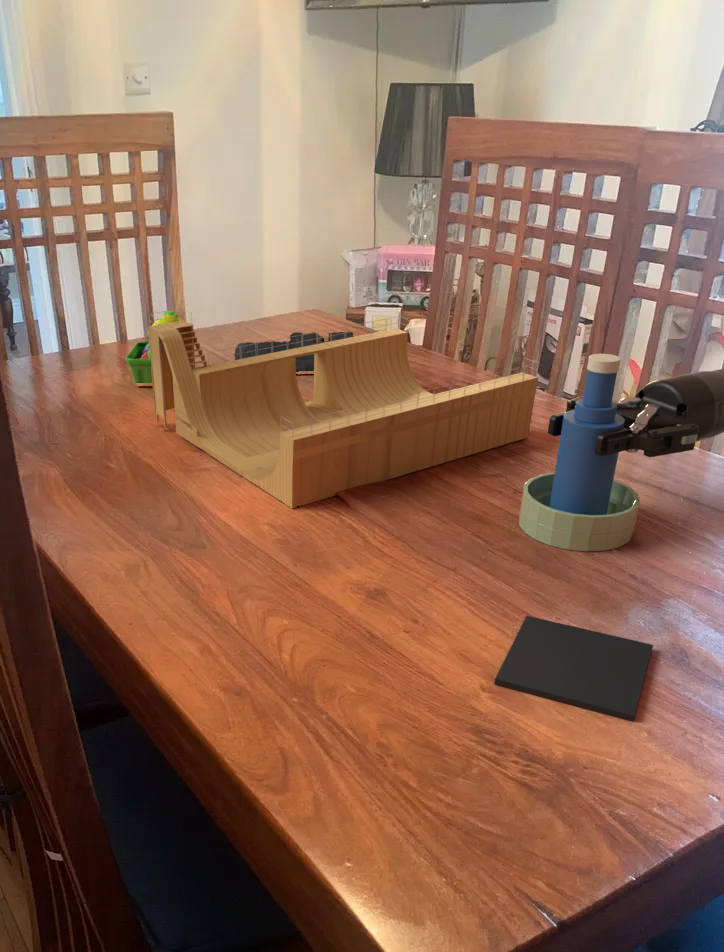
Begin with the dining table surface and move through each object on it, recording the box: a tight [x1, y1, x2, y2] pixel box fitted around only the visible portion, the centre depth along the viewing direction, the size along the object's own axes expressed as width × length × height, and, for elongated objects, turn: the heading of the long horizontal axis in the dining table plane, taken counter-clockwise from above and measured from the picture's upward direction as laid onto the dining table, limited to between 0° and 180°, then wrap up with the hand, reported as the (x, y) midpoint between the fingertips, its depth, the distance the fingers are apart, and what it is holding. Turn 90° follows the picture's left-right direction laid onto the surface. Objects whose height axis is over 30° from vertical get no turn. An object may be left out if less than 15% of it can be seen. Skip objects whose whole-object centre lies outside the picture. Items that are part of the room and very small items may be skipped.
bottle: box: [549, 353, 625, 515], centre depth 90 cm, size 6×6×17 cm
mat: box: [493, 615, 654, 722], centre depth 73 cm, size 11×11×1 cm
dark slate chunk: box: [233, 330, 355, 372], centre depth 153 cm, size 15×22×5 cm
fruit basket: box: [125, 310, 182, 384], centre depth 144 cm, size 11×9×11 cm
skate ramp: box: [148, 308, 540, 509], centre depth 119 cm, size 40×35×16 cm
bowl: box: [518, 471, 641, 552], centre depth 95 cm, size 12×12×4 cm
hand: (574, 435), depth 89 cm, fingers closed on bottle, 6 cm apart
